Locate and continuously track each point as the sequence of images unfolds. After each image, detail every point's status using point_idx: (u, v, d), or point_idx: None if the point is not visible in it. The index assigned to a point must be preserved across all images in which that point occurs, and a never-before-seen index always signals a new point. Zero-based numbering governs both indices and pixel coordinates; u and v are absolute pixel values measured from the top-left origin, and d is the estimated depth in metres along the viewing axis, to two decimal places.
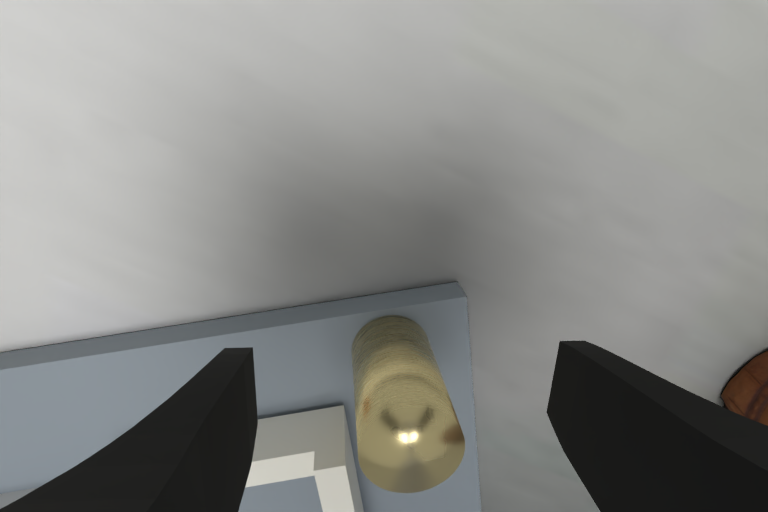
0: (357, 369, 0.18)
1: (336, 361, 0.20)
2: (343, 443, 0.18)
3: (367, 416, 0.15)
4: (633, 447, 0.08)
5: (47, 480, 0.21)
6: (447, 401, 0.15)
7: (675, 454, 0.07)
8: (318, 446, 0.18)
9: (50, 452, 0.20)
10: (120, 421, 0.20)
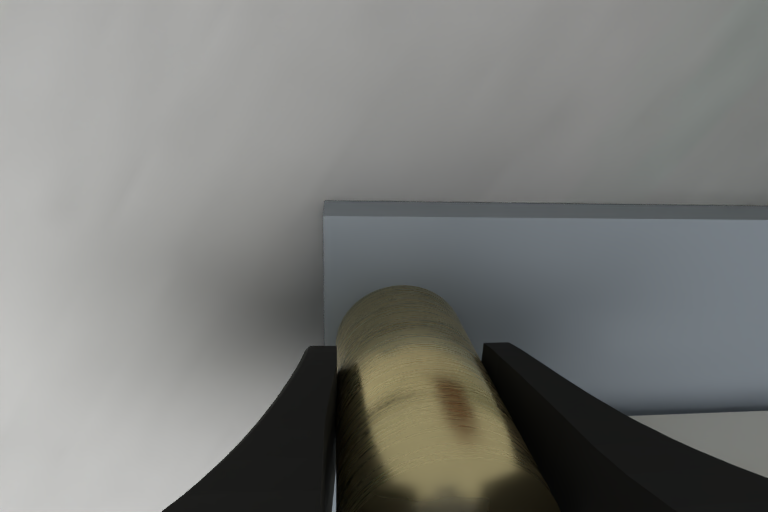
0: None
1: None
2: None
3: None
4: (536, 452, 0.08)
5: None
6: (385, 436, 0.07)
7: (566, 459, 0.07)
8: None
9: None
10: None
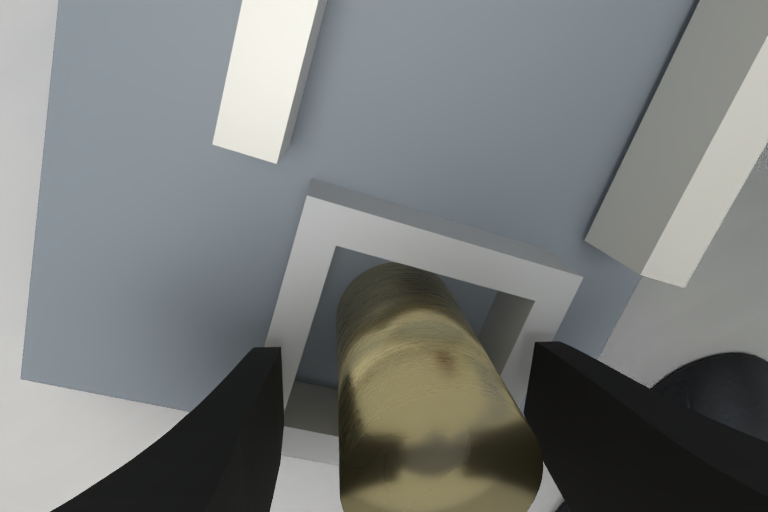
0: None
1: None
2: None
3: None
4: (602, 449, 0.08)
5: (269, 286, 0.13)
6: (373, 387, 0.08)
7: (639, 456, 0.07)
8: None
9: (220, 249, 0.12)
10: (206, 110, 0.11)
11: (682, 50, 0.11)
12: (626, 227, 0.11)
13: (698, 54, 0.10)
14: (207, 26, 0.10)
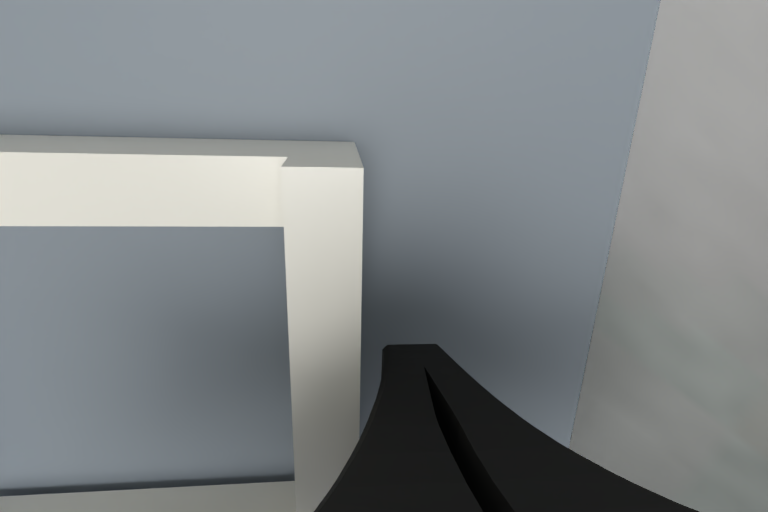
0: None
1: (388, 39, 0.10)
2: (356, 156, 0.08)
3: None
4: None
5: None
6: None
7: (459, 464, 0.07)
8: (297, 155, 0.08)
9: None
10: None
11: (174, 494, 0.13)
12: None
13: None
14: None
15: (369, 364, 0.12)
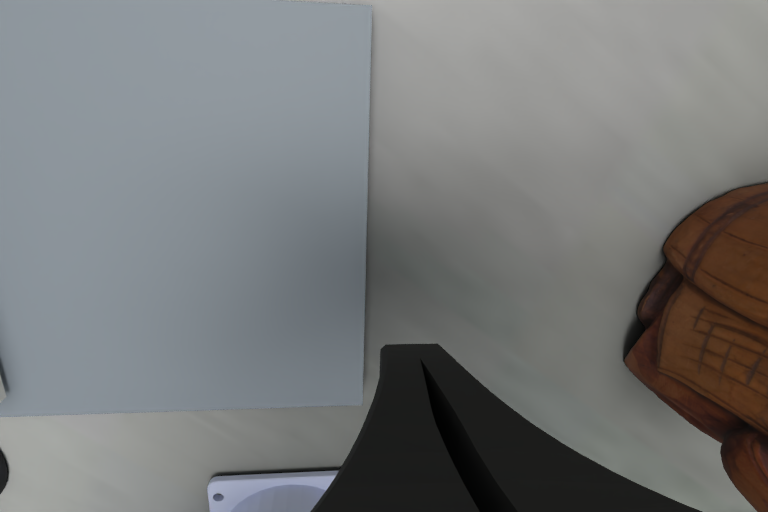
0: None
1: (195, 66, 0.16)
2: None
3: None
4: None
5: None
6: None
7: (461, 464, 0.07)
8: None
9: None
10: None
11: None
12: None
13: None
14: None
15: (209, 283, 0.18)
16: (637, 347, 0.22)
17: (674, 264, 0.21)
